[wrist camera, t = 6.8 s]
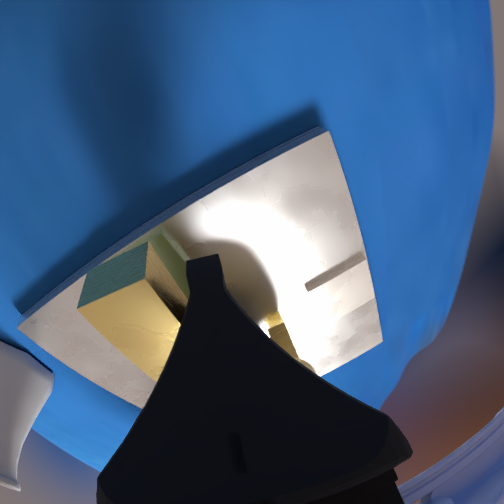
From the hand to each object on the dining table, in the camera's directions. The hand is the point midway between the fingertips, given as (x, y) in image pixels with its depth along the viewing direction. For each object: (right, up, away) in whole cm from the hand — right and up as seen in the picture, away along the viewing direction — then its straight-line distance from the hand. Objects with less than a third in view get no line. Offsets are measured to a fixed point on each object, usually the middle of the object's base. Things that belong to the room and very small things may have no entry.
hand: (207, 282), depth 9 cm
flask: (-17, -8, +6) cm, 20 cm away
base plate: (0, -4, +9) cm, 10 cm away
